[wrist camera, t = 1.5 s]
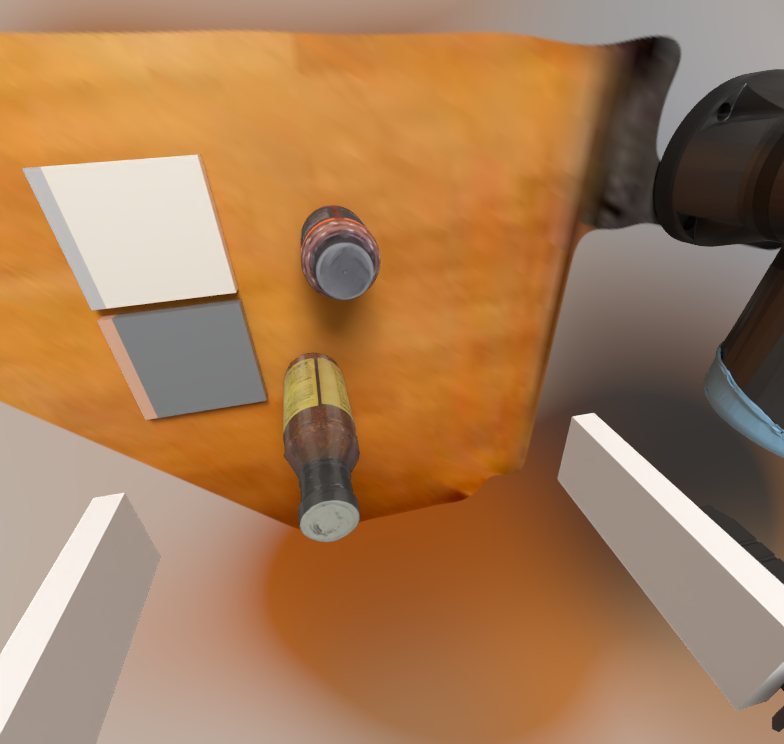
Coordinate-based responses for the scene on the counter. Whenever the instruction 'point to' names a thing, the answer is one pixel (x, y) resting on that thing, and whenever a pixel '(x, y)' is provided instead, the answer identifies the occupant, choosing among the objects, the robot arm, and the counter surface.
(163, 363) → the grey square coaster
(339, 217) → the supplement bottle
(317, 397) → the sauce bottle
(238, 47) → the counter surface
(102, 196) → the cream square tile
